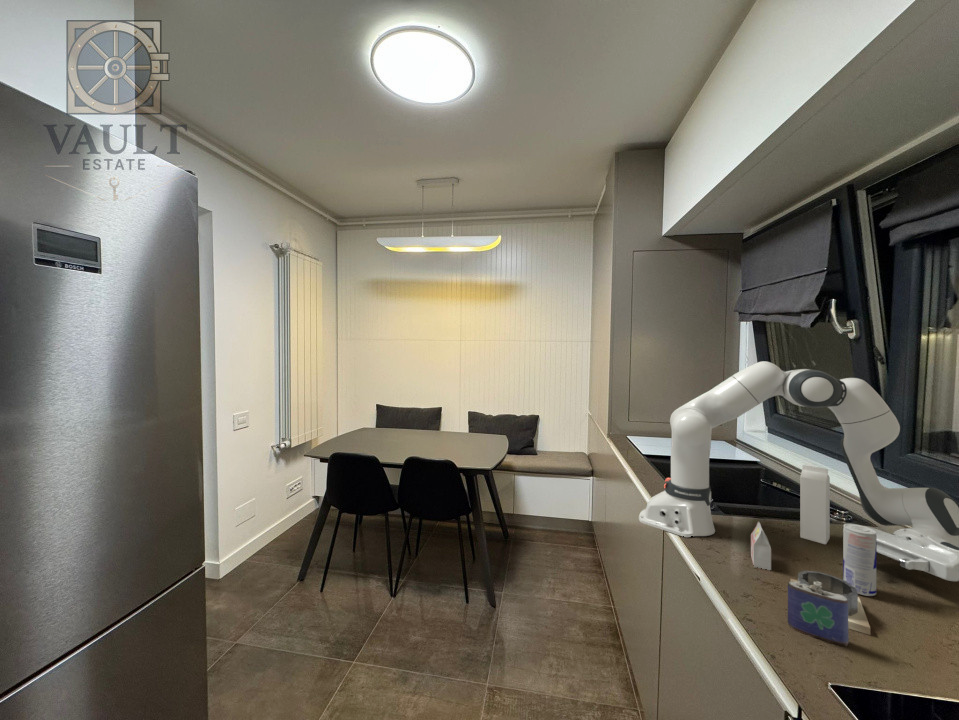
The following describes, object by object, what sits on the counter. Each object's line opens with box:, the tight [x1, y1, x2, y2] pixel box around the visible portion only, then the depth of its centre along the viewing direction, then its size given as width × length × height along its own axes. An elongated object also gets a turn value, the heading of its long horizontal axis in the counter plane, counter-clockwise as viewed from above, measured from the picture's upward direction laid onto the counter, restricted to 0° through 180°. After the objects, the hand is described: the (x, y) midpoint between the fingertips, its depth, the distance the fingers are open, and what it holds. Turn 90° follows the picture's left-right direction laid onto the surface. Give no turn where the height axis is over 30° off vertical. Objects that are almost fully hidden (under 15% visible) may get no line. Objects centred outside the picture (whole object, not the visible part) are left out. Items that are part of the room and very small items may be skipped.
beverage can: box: [842, 523, 878, 597], centre depth 90 cm, size 6×6×15 cm
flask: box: [787, 580, 850, 647], centre depth 76 cm, size 9×3×11 cm, turn 51°
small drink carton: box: [750, 521, 772, 571], centre depth 103 cm, size 4×7×10 cm, turn 150°
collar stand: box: [790, 570, 871, 636], centre depth 84 cm, size 12×12×6 cm
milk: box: [799, 464, 831, 545], centre depth 116 cm, size 6×6×22 cm
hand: (878, 554), depth 92 cm, fingers open, 8 cm apart
